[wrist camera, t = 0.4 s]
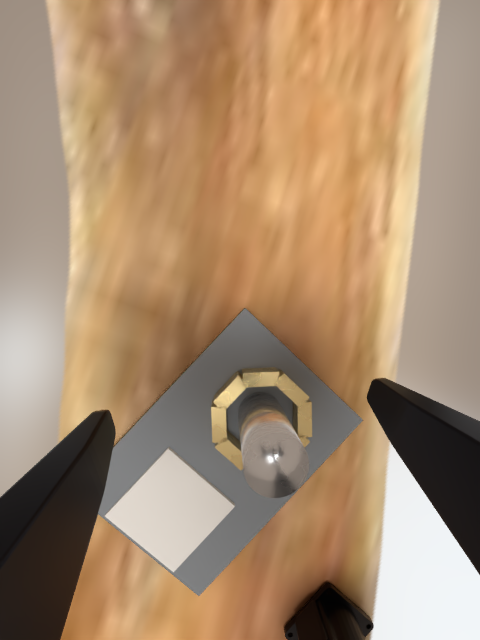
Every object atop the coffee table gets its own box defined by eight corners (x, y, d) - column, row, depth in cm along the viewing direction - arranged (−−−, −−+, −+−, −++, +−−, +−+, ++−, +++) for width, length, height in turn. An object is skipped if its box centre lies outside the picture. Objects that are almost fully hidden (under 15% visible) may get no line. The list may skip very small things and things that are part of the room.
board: (356, 415, 23) (363, 420, 22) (200, 583, 22) (198, 596, 21) (244, 308, 22) (245, 308, 21) (78, 483, 21) (71, 492, 20)
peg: (291, 412, 21) (322, 462, 14) (260, 444, 21) (277, 511, 14) (259, 383, 21) (275, 419, 14) (228, 415, 21) (229, 469, 14)
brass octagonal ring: (324, 410, 21) (332, 418, 20) (261, 478, 21) (264, 491, 20) (258, 348, 21) (260, 351, 19) (192, 417, 21) (190, 426, 19)
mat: (234, 503, 21) (235, 506, 21) (174, 568, 21) (173, 572, 21) (169, 446, 21) (168, 448, 20) (106, 513, 21) (104, 516, 20)
